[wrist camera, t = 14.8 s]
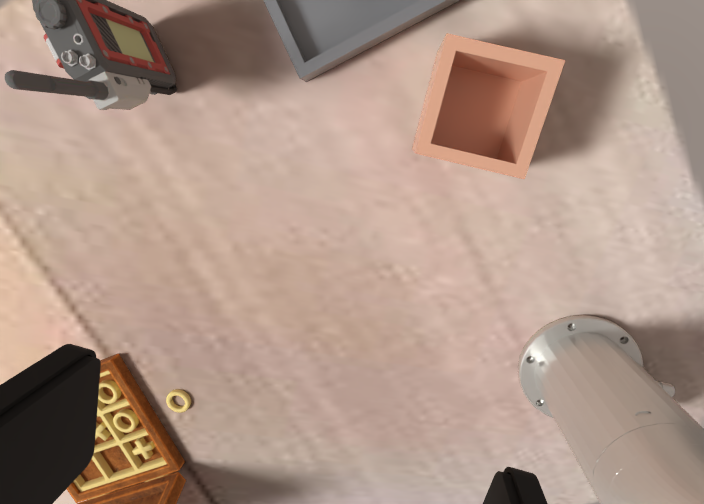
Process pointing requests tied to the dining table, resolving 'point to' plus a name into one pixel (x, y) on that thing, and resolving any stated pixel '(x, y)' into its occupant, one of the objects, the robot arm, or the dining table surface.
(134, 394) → the game set
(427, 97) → the terracotta box
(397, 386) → the dining table surface
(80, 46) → the walkie-talkie
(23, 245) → the dining table surface
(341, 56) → the charcoal tray
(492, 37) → the dining table surface
